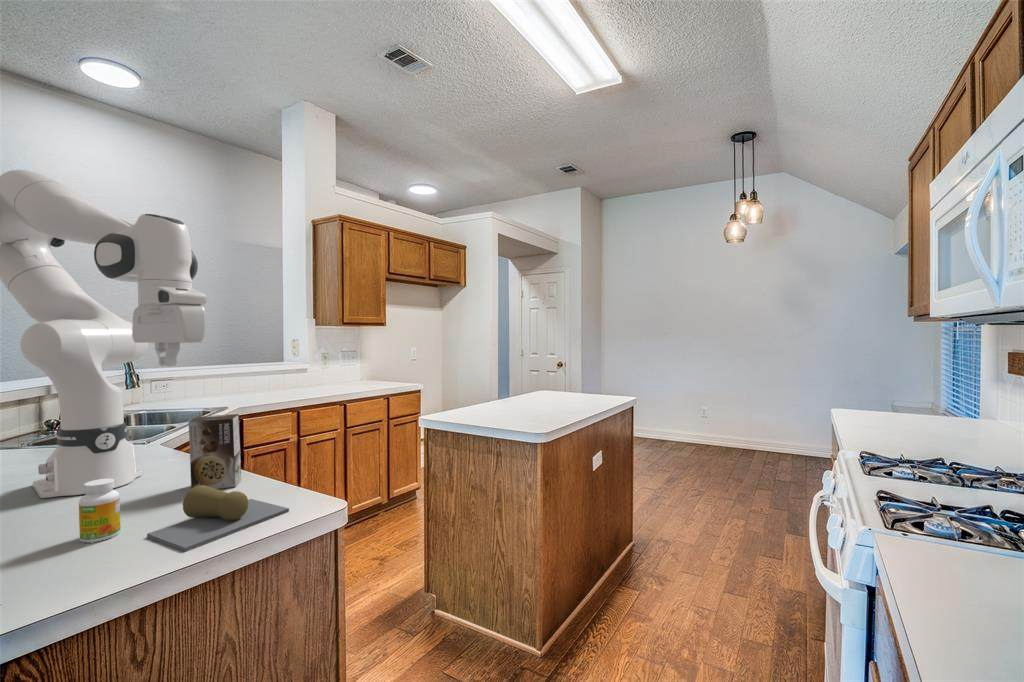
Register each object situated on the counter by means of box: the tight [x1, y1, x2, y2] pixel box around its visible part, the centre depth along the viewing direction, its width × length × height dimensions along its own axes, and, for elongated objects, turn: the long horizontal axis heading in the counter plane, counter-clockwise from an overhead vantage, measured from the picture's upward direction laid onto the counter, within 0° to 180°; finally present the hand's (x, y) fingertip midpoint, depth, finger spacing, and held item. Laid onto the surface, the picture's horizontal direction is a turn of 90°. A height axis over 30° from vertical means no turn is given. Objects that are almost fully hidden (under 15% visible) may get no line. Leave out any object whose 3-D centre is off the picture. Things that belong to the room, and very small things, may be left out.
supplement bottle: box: [78, 479, 121, 544], centre depth 82 cm, size 5×5×10 cm
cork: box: [182, 485, 249, 521], centre depth 89 cm, size 6×6×11 cm
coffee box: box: [188, 413, 242, 490], centre depth 110 cm, size 9×6×16 cm
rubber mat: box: [146, 498, 290, 552], centre depth 88 cm, size 12×19×1 cm, turn 152°
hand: (167, 365), depth 94 cm, fingers closed
